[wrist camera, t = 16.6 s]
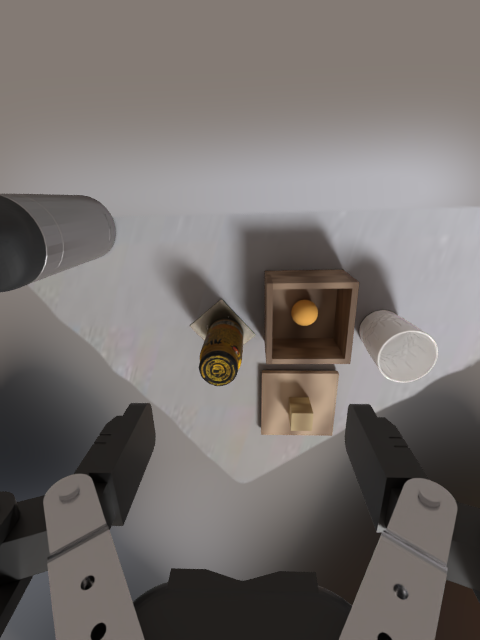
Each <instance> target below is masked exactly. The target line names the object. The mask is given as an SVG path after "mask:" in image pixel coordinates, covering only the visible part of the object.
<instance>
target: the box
mask: <svg viewBox="0 0 480 640" xmlns="http://www.w3.org/2000/svg"><path fill="white" fill-rule="evenodd" d="M358 290H359V282H358V281H357V280H356V279H354V278H353V277H352V276H351V275H349V274H348V273H347V272H346V271H344V270H283V271H265V353H266V364H350V361H351V352H352V343H353V334H354V325H355V316H356V307H357V299H358ZM300 300H309V301H311V302H313V303H314V304H315V305H316V307H317V309H318V316H317V319H316V320H315V322H314V323H312V324H310V325H308V326H302V325H299V324H297V323H296V322H295V321H294V320H293V318H292V315H291V311H292V307H293V306H294V304H295V303H297V302H298V301H300Z"/></svg>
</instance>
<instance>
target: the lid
mask: <svg viewBox="0 0 480 640" xmlns="http://www.w3.org/2000/svg"><path fill="white" fill-rule="evenodd" d="M338 377H339V373H338V371H284V370H262V398H261V435H329V436H332V432H333V423H334V414H335V404H336V395H337V386H338Z"/></svg>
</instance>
